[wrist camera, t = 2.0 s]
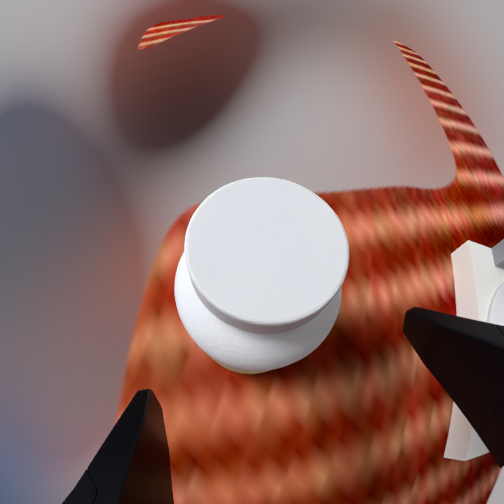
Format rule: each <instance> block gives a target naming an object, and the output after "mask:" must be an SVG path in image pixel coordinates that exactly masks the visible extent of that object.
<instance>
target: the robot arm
mask: <svg viewBox="0 0 504 504" xmlns="http://www.w3.org/2000/svg"><path fill="white" fill-rule="evenodd" d="M403 332H404V334H405V336H406V337H407V339H408V340H409V342H410V343H411V345H412V346H413V348H414V349H415V351H416V352H417V354H418V356H419V357H420V359H421V360H422V362H423V363H424V364H425V366H426V367H427V368H428V369H429V371H430V372H431V373H432V374H433V376H434V377H435V378H436V379H437V381H438V382H439V383H440V384H441V386H442V387H443V388H444V390H445V391H446V392H447V393H448V395H449V396H450V397H451V399H452V400H453V401H454V403H455V404H456V405H457V407H458V408H459V409H460V411H461V412H462V413H463V415H464V416H465V417H466V419H467V420H468V422H469V423H470V424H471V426H472V427H473V429H474V430H475V431H476V433H477V434H478V436H479V437H480V439H481V440H482V442H483V443H484V445H485V446H486V448H487V449H488V450H489V452H490V453H491V455H492V457H493V458H494V460H495V461H496V463H497V464H498V466H499V467H500V468H502V467H503V466H504V326H502V325H497V324H496V325H495V324H492V323H487V322H483V321H478V320H473V319H469V318H464V317H459V316H455V315H450V314H446V313H441V312H437V311H432V310H428V309H423V308H419V307H413V308H411V309H409V310H407V311H406V313H405V319H404V325H403ZM62 504H174V500H173V491H172V481H171V469H170V456H169V448H168V442H167V436H166V431H165V425H164V418H163V412H162V408H161V405H160V403H159V402H158V400H157V398H156V396H155V395H154V393H153V391H152V390H151V389H142V390H138V391H137V393H136V394H135V396H134V397H133V399H132V400H131V402H130V403H129V405H128V406H127V408H126V409H125V411H124V412H123V414H122V415H121V417H120V418H119V420H118V421H117V423H116V424H115V426H114V427H113V429H112V430H111V432H110V434H109V435H108V437H107V438H106V440H105V441H104V443H103V444H102V446H101V447H100V449H99V451H98V452H97V454H96V455H95V457H94V458H93V460H92V462H91V463H90V465H89V466H88V469H87V470H86V471H85V472H84V474H83V476H82V477H81V479H80V480H79V481H78V483H77V484H76V486H75V487H74V489H73V490H72V491H71V493H70V494H69V495H68V497H67V498H66V499H65V501H64V502H63V503H62Z"/></svg>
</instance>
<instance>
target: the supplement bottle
mask: <svg viewBox="0 0 504 504" xmlns="http://www.w3.org/2000/svg"><path fill="white" fill-rule="evenodd" d="M348 265H349V245H348V241H347V237H346V233H345V231H344V228H343V226H342V223H341V222H340V220H339V218H338V217H337V215H336V214H335V212H334V211H333V210H332V209H331V208H330V206H329V205H328V204H327V203H326V202H325V201H324V200H322V199H321V198H320V197H319V196H317V195H316V194H315V193H313V192H311V191H310V190H308V189H307V188H305V187H303V186H301V185H299V184H296V183H293V182H290V181H287V180H283V179H278V178H269V177H268V178H267V177H257V178H248V179H242V180H239V181H236V182H233V183H230V184H228V185H226V186H223V187H221V188H220V189H218V190H216V191H215V192H213V193H212V194H211V195H210V196H208V197H207V198H206V199H205V200H204V201H203V203H201V205H200V206H199V207H198V208H197V210H196V211H195V213H194V214H193V216H192V218H191V220H190V223H189V225H188V228H187V232H186V236H185V248H184V253H183V255H182V257H181V259H180V262H179V265H178V268H177V272H176V278H175V300H176V305H177V309H178V313H179V316H180V318H181V321H182V323H183V324H184V326H185V328H186V330H187V332H188V333H189V334H190V336H191V337H192V339H193V340H194V341H195V342H196V343H197V345H198V346H199V347H200V348H201V349H202V350H203V351H205V352H206V353H207V354H208V355H209V356H210V357H211V358H212V359H214V360H215V361H216V362H217V363H219V364H220V365H221V366H223V367H225V368H227V369H229V370H231V371H234V372H237V373H242V374H258V373H263V372H267V371H270V370H273V369H278V368H281V367H285V366H287V365H290V364H292V363H295V362H297V361H299V360H301V359H302V358H304V357H306V356H307V355H309V354H310V353H311V352H312V351H314V350H315V349H316V348H317V347H318V346H319V345H320V344H321V343H322V342H323V341H324V339H325V338H326V337H327V335H328V334H329V332H330V331H331V329H332V327H333V325H334V323H335V321H336V318H337V315H338V312H339V308H340V303H341V291H342V287H341V286H342V284H343V282H344V279H345V277H346V274H347V269H348Z"/></svg>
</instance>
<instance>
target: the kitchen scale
mask: <svg viewBox="0 0 504 504" xmlns="http://www.w3.org/2000/svg"><path fill="white" fill-rule="evenodd" d="M451 258H452V266H453V274H454V283H455V295H456V310H457V316H459V317H464V318H469V319H473V320H478V321H483V322H487V323H492V324H495V325H496V324H497V325H502V326H504V239H503V240H502V241H501V242H499V243H498V244H497V245H496V246H494V247H493V248H492V249H491V248H488V247H486V246H483V245H480V244H477V243H475V242H472V241H469V240H468V241H467V242H465V243H464V244H463V245H462V246H460V247H459V248H458V249H457V250H455V251H454V252H453V253H452V254H451ZM488 452H489V450H488V449H487V448H486V446H485V445H484V443H483V442H482V440H481V439H480V437H479V436H478V434H477V433H476V431H475V430H474V429H473V427H472V426H471V424H470V423H469V422H468V420H467V419H466V417H465V416H464V415H463V413H462V412H461V411H460V409H459V408H458V407H457V405H456V404H455V403H454V401H453V409H452V416H451V422H450V428H449V434H448V439H447V444H446V448H445V453H444V458H450V459H455V460H461V461H467V460H470V459H472V458H475V457H478V456H481V455H483V454H486V453H488Z"/></svg>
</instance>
